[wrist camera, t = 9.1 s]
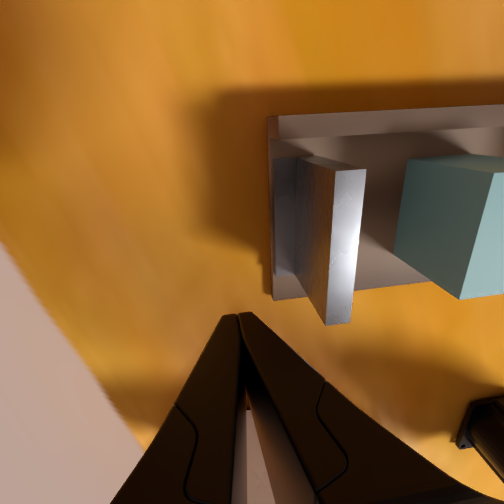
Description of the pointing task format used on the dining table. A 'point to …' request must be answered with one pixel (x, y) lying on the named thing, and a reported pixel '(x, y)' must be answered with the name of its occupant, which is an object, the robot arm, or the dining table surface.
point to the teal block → (454, 223)
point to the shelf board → (380, 171)
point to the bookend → (319, 229)
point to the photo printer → (256, 468)
